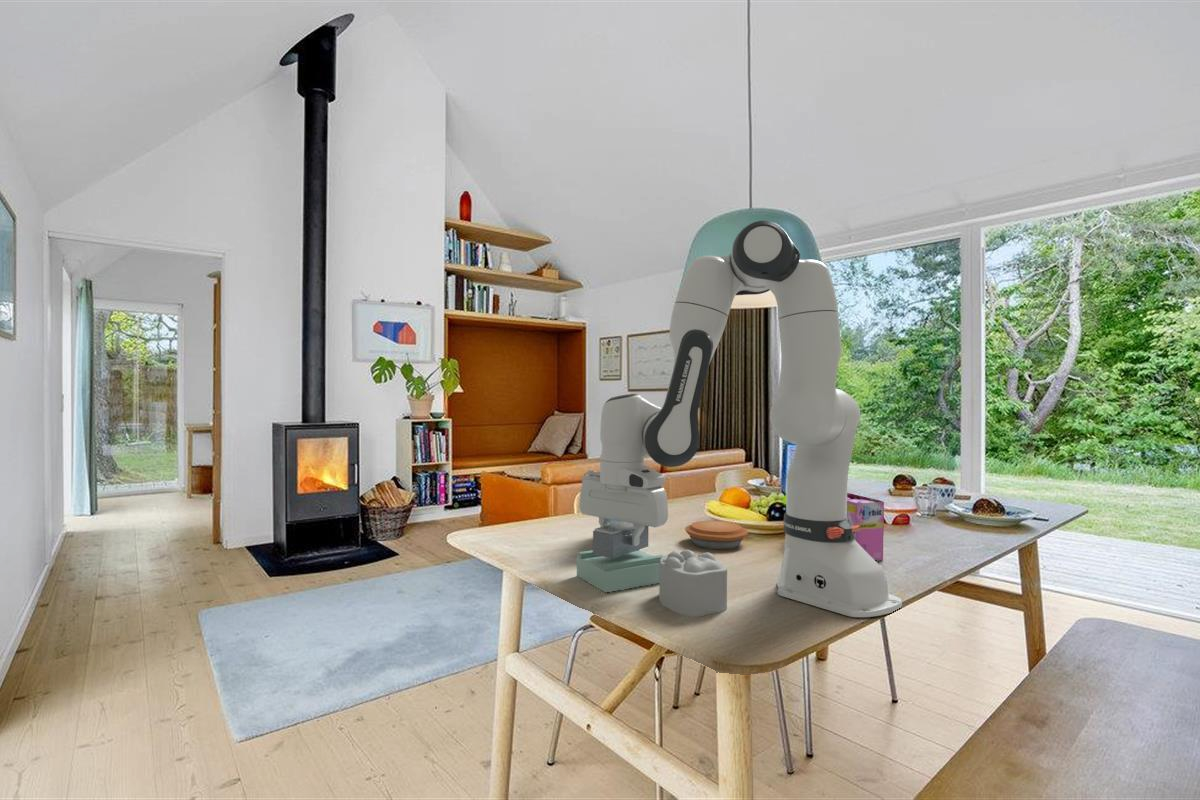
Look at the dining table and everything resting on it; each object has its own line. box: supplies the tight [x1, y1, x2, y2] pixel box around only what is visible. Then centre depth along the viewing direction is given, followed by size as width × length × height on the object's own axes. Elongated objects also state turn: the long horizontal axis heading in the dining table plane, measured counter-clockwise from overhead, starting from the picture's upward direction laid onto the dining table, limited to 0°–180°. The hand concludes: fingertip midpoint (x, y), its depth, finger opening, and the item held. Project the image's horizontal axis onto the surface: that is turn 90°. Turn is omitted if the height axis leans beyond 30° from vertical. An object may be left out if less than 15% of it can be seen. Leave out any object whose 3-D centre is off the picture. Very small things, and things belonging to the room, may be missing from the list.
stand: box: [576, 549, 664, 594], centre depth 121 cm, size 12×14×5 cm
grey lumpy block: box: [658, 549, 728, 618], centre depth 108 cm, size 10×13×9 cm
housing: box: [592, 521, 650, 559], centre depth 121 cm, size 12×5×5 cm, turn 141°
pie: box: [684, 520, 749, 550], centre depth 150 cm, size 16×16×5 cm
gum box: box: [847, 492, 885, 561], centre depth 146 cm, size 24×8×14 cm, turn 16°
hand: (621, 542), depth 121 cm, fingers closed on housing, 5 cm apart
